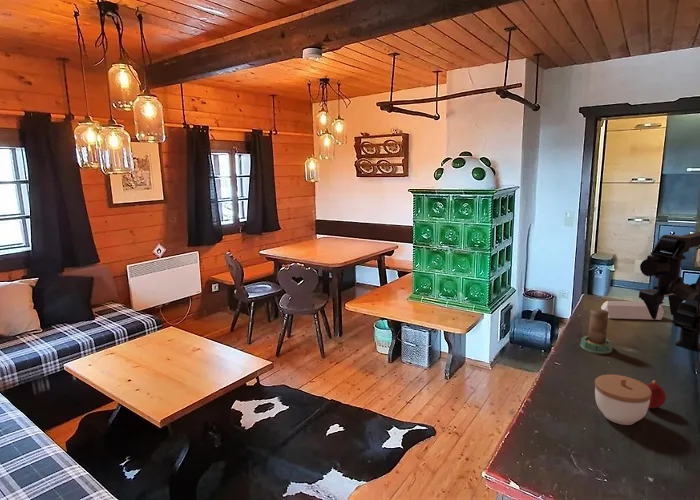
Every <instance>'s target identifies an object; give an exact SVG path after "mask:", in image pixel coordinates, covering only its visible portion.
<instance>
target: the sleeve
mask: <svg viewBox="0 0 700 500" xmlns="http://www.w3.org/2000/svg"><path fill="white" fill-rule="evenodd" d="M608 320H609V318H608V311H606V310H602V309H600V308H591V309H590V313H589V325H588V335H587V336H588V342H589V343H592V344H596V345H605V344H606V339H607V330H608V322H609V321H608Z"/></svg>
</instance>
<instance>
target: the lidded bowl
mask: <svg viewBox="0 0 700 500" xmlns="http://www.w3.org/2000/svg"><path fill="white" fill-rule="evenodd" d="M594 387H595V388H594V398H595V402H596V405H597V407H598V409H599V410H600V412H601V413H602V414H603V416H604V417H605V419H607V420H608V421H610V422H612V423H614V424H618V425H621V426H631V425H634V424H635V423H636V422H639V421H641V420H642V419H643V418H644V417H645V416H646V414H647V413H648V410H649V409H650V408H649V404H650V398H651V395H652V392H651V390H650V388H649V387H648V386H647V384H645V383H643V382H642V381H640V380H638V379H635V378H632V377H628V376H627V375H626V376H625V375H619V374H602V375H599V376H598V377H596V378H595V380H594Z"/></svg>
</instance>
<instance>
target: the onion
mask: <svg viewBox="0 0 700 500" xmlns="http://www.w3.org/2000/svg"><path fill="white" fill-rule="evenodd" d="M646 385H647V386H648V387H649V388H650V390H651V392H652V395H651V398H650V404H649V408H648V409H655V408H659V407H661V406H663V405H664V404H665V402H666V400H667V398H666V392H665V390H664V389H663V388H662V387H661V386H660V385H658V383H657V381H656V380H655V379H654V380H652V381H651V382H650V383H647V384H646Z"/></svg>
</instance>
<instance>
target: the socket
mask: <svg viewBox="0 0 700 500" xmlns="http://www.w3.org/2000/svg"><path fill="white" fill-rule="evenodd" d="M579 345H580V348H581V349H582V350H584V351H586V352H589V353H591V354H597V355H598V354H599V355H608V354H611V353H612V352H613V347H612V346H613V342H612V341H611V340H609V339H608V338H606V344H605V345H596V344H592V343H589V342H588V335H584V336H583V337H581V341H580V344H579Z"/></svg>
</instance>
